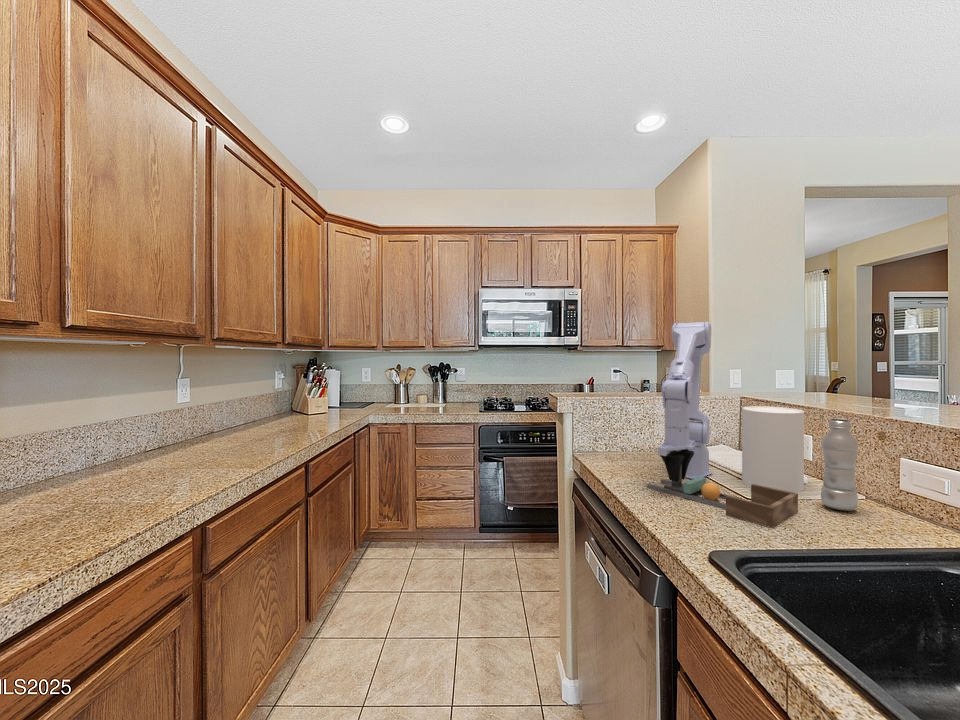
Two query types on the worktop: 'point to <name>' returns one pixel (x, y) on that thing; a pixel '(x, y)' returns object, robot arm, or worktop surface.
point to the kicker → (686, 484)
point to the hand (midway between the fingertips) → (676, 479)
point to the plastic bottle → (839, 466)
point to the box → (763, 506)
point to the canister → (773, 447)
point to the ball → (710, 491)
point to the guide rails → (689, 495)
